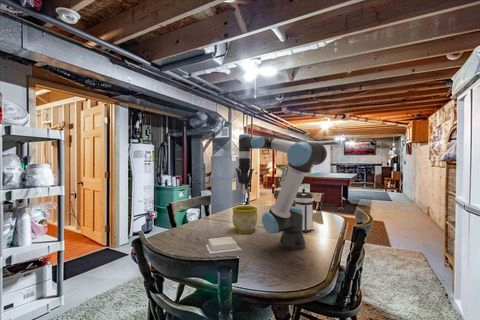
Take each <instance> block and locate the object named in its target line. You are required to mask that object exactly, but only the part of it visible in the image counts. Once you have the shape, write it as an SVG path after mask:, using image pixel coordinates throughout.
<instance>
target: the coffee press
mask: <svg viewBox="0 0 480 320" xmlns="http://www.w3.org/2000/svg"><path fill="white" fill-rule="evenodd" d="M314 200H315V199H314V195H313V194H312V193H311V192H309V191H306V188H302V191H298V192H297V194H296V197H295V199H294V201H293V203H294V207H299V208H301V209H302V212H303V231H304V233H305V234H307V233H308V231H310V230H312V231H315V228H314V226H313V225H314V223H313V218H314V217H313V216H314V215H313V214H314V213H313V212H314V210H313V209H314V208H313V207H314V205H313V204H314Z"/></svg>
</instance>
